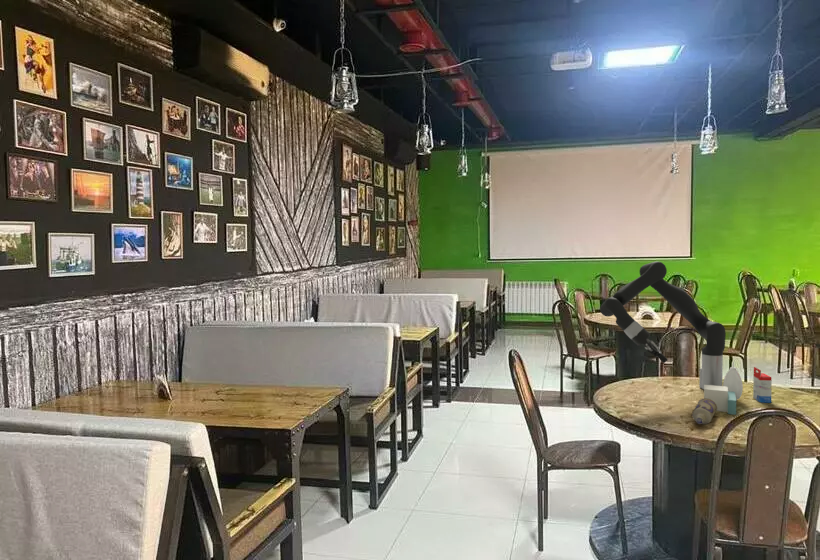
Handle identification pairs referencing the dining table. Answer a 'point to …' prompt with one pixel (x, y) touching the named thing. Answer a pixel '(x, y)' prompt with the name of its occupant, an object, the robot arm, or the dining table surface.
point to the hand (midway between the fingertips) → (665, 361)
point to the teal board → (731, 403)
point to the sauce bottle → (733, 382)
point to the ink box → (761, 386)
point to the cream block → (717, 396)
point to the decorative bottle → (704, 411)
